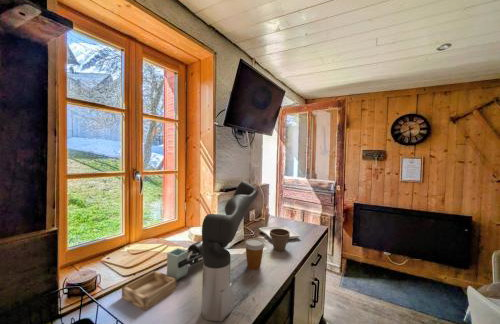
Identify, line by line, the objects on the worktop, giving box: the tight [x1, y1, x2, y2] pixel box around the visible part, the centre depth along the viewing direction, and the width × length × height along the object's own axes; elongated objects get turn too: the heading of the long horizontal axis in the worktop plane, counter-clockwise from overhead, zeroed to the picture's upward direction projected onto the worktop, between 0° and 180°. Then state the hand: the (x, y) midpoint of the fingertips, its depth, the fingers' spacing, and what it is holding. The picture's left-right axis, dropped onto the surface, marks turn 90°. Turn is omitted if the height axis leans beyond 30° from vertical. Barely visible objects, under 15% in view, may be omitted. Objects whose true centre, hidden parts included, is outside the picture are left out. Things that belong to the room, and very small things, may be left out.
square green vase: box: [166, 247, 189, 281], centre depth 96 cm, size 6×6×10 cm
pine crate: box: [121, 269, 178, 311], centre depth 84 cm, size 13×14×4 cm
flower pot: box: [270, 229, 290, 252], centre depth 128 cm, size 12×11×10 cm
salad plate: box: [258, 225, 301, 241], centre depth 150 cm, size 21×21×3 cm
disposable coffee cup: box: [244, 238, 265, 271], centre depth 107 cm, size 10×10×12 cm
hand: (173, 263), depth 94 cm, fingers closed on square green vase, 6 cm apart
